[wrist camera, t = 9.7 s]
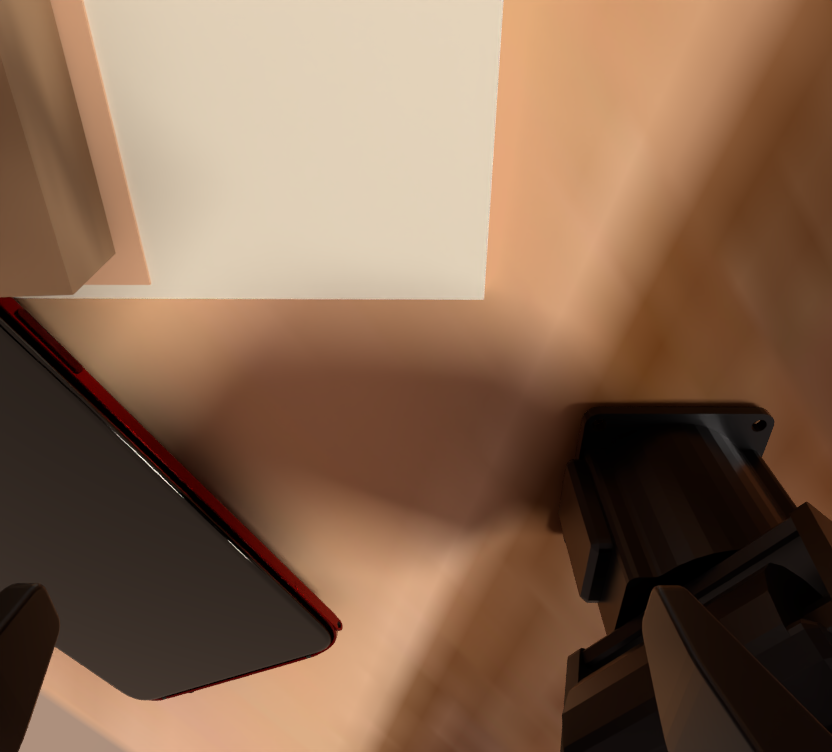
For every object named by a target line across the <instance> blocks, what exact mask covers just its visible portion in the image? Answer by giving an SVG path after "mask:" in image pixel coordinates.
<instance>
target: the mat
mask: <svg viewBox="0 0 832 752" xmlns="http://www.w3.org/2000/svg"><path fill="white" fill-rule="evenodd" d="M50 2H51V5H52V9H53V13H54V17H55V21H56V25H57V29H58V32H59V36H60V40H61V44H62V48H63V52H64V56H65V59H66V63H67V67H68V71H69V75H70V79H71V83H72V86H73V90H74V94H75V98H76V102H77V106H78V110H79V113H80V117H81V121H82V125H83V129H84V133H85V137H86V140H87V144H88V148H89V152H90V156H91V160H92V164H93V168H94V171H95V175H96V179H97V183H98V187H99V191H100V195H101V198H102V202H103V206H104V210H105V214H106V218H107V222H108V225H109V229H110V233H111V237H112V241H113V245H114V249H115V252H116V254H115V255H114V256H113V257H112V258H110V259H109V260H108V261H107V262H106V263H105V264H104V265H103V266H102V267H101V268H100V269H99V270H98V271H97V272H96V273H95V274H94V275H93V276H92V277H91V278H90V279H89V280H88V281H87V282H86V283H85V284H84V285H83V286H82V287H81V288H80V289H79V290H78V291H77V292H76V293H75V294H74V295H54V296H23V297H12V298H74V299H429V300H484V290H485V275H486V260H487V245H488V229H489V214H490V199H491V183H492V168H493V153H494V138H495V122H496V107H497V92H498V76H499V61H500V46H501V31H502V15H503V0H50Z"/></svg>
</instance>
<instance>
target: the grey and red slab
mask: <svg viewBox="0 0 832 752" xmlns="http://www.w3.org/2000/svg"><path fill="white" fill-rule="evenodd" d="M15 583H39V584H42V585H43V586H44V587H45V588H46V590H47V592H48V594H49V596H50V598H51V601H52V603H53V605H54V607H55V609H56V611H57V613H58V616H59V619H60V630H59V635H58V638H57V641H56V644H55V647H56V648H58V649H59V650H60V651H62V652H63V653H65V654H66V655H68V656H69V657H71V658H72V659H74V660H75V661H77V662H78V663H79V664H81V665H82V666H84V667H85V668H87V669H88V670H90V671H91V672H93V673H94V674H96V675H97V676H99V677H100V678H101V679H103V680H104V681H106V682H107V683H109V684H110V685H112V686H113V687H115V688H116V689H118V690H119V691H121V692H122V693H124V694H126V695H127V696H129V697H132V698H135V699H138V700H152V701H159V700H164V699H168V698H171V697H175V696H179V695H182V694H186V693H192V692H194V691H196V690H200V689H203V688H207V687H210V686H214V685H217V684H221V683H224V682H228V681H231V680H235V679H239V678H242V677H246V676H249V675H252V674H256V673H259V672H263V671H266V670H270V669H273V668H277V667H280V666H284V665H287V664H291V663H294V662H297V661H301V660H304V659H307V658H310V657H314V656H316V655H318V654H320V653H322V652H324V651H326V650H327V649H329V648H330V647H331V646H332V645H333V644H334V643H335V641H336V638H337V633H338V631H341V630H342V623H341V621H340V620H339V619H338V618H337V616H336V615H335V614H334V613H333V612H332V611H331V610H330V609H329V608H328V607H327V606H326V605H325V604H324V603H323V602H322V601H321V600H320V599H319V598H318V597H317V596H316V595H315V594H314V593H313V592H312V591H311V590H310V589H309V588H308V587H307V586H305V585H304V584H303V583H302V582H301V581H300V580H299V579H298V578H297V577H296V576H295V575H294V574H293V573H292V572H291V571H290V570H289V569H288V568H287V567H286V566H285V565H284V564H283V563H282V562H281V561H280V560H279V559H278V558H277V557H276V556H275V555H274V554H273V553H272V552H271V551H270V550H269V549H268V548H267V547H266V546H265V545H264V544H262V543H261V542H260V541H259V540H258V539H257V538H256V537H255V536H254V535H253V534H252V533H251V532H250V531H249V530H248V529H247V528H246V527H245V526H244V525H243V524H242V523H241V522H240V521H239V520H238V519H237V518H236V517H235V516H234V515H233V514H232V513H231V512H230V511H229V510H228V509H227V508H226V507H225V506H224V505H223V504H222V503H221V502H220V501H218V500H217V499H216V498H215V497H214V496H213V495H212V494H211V493H210V492H209V491H208V490H207V489H206V488H205V487H204V486H203V485H202V484H201V483H200V482H199V481H198V480H197V479H196V478H195V477H194V476H193V475H192V474H191V473H190V472H189V471H188V470H187V469H186V468H185V467H184V466H183V465H182V464H181V463H180V462H179V461H178V460H177V459H176V458H174V457H173V456H172V455H171V454H170V453H169V452H168V451H167V450H166V449H165V448H164V447H163V446H162V445H161V444H160V443H159V442H158V441H157V440H156V439H155V438H154V437H153V436H152V435H151V434H150V433H149V432H148V431H147V430H146V429H145V428H144V427H143V426H142V425H141V424H140V423H139V422H138V421H137V420H136V419H135V418H134V417H133V416H132V415H131V414H130V413H129V412H128V411H127V410H126V409H125V408H124V407H123V406H122V405H121V404H120V403H119V402H118V401H117V400H116V399H115V398H114V397H112V396H111V395H110V394H109V393H108V392H107V391H106V390H105V389H104V388H103V387H102V386H101V385H100V384H99V383H98V382H97V381H96V380H95V379H94V378H93V377H92V376H91V375H90V374H89V373H88V372H87V371H86V370H85V369H84V368H83V367H82V365H81V364H80V363H79V362H78V361H77V360H76V359H75V358H74V357H73V356H72V355H71V354H70V353H69V352H68V351H67V350H66V349H65V348H63V347H62V346H61V345H60V344H59V343H58V342H57V341H56V340H55V339H54V338H53V337H52V336H51V335H50V334H49V333H48V332H47V331H46V330H45V329H44V328H43V327H42V326H41V325H40V324H39V323H38V322H37V321H36V320H35V319H34V318H33V317H32V316H31V315H30V314H29V313H28V312H27V311H26V310H25V309H24V308H23V307H21V306H20V305H19V304H18V303H17V302H16V301H15V300H14V299H13V298H12V297H0V592H1V591H2V590H3V589H5V588H6V587H8V586H10V585H12V584H15Z"/></svg>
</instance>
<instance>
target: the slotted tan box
mask: <svg viewBox="0 0 832 752" xmlns="http://www.w3.org/2000/svg"><path fill="white" fill-rule="evenodd" d="M115 254H116V252H115V249H114V245H113V241H112V237H111V233H110V229H109V225H108V222H107V218H106V214H105V210H104V206H103V202H102V198H101V195H100V191H99V187H98V183H97V179H96V175H95V171H94V168H93V164H92V160H91V156H90V152H89V148H88V144H87V140H86V137H85V133H84V129H83V125H82V121H81V117H80V113H79V110H78V106H77V102H76V98H75V94H74V90H73V86H72V83H71V79H70V75H69V71H68V67H67V63H66V59H65V56H64V52H63V48H62V44H61V40H60V36H59V32H58V29H57V25H56V21H55V17H54V13H53V9H52V5H51V2H50V0H0V297H23V296H54V295H74V294H75V293H76V292H77V291H78V290H79V289H80V288H81V287H82V286H83V285H84V284H85V283H86V282H87V281H88V280H89V279H90V278H91V277H92V276H93V275H94V274H95V273H96V272H97V271H98V270H99V269H100V268H101V267H102V266H103V265H104V264H105V263H106V262H107V261H108V260H109V259H110V258H112V257H113V256H114V255H115Z"/></svg>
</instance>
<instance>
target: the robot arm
mask: <svg viewBox="0 0 832 752" xmlns="http://www.w3.org/2000/svg"><path fill="white" fill-rule="evenodd" d="M599 419H602V420H603V421H602V422H601V423H599V424H593V422H594V421H596V420H599ZM757 420H760V422H758V423H757V424H754V425H752V424H753V423H754V422H756V421H757ZM773 426H774V420H773V417H772V416H771V415H770V414H769V412H768V411H767V410H765V409H764V408H760V407H594V408H591V409H589V410H588V411H587V412H585V413H584V415H583V418H582V422H581V428H580V434H579V439H578V445H577V451H576V456H575V459H572V460H570V462H569V463H568V464H567V465H566V469H565V475H564V481H563V487H562V492H561V498H560V504H559V510H558V515H559V519H560V522H561V526H562V532H563V537H564V541H565V543H566V546H567V549H568V553H569V557H570V561H571V565H572V569H573V573H574V576H575V580H576V584H577V588H578V592H579V595H580V597H581V598H582V599H583V600H584V601H585V602H587V603H598V606H599V610H600V613H601V617H602V620H603V624H604V627H605V631H606V634H607V636H605V637H604V638H602V639H600V640H599V641H597V642H596V643H594V644H593V645H591V646H590V647H588V648H587V649H584V648H581V649H579V650H577V651H576V652H574V653H573V654H571V655H570V656H568V660H567V673H566V686H565V699H564V710H563V713H562V737H561V750H560V752H832V521H831V520H829V519H828V518H827V517H826V516H824V515H823V514H822V513H821V512H820V511H818V510H817V509H816V508H815V507H813V506H812V505H811V504H810V503H808V502H805V503H804V504H802V505H800V506H799V507H796V505H795V504H794V502H793V501H792V500H791V498H790V497H789V495H788V494H787V492H786V491H785V490H784V488H783V487H782V485H781V484H780V483H779V481H778V480H777V478H776V477H775V475H774V474H773V473H772V471H771V470H770V468H769V467H768V466H767V464H766V463H765V461H764V460H763V458H762V455H763V453H764V450H765V447H766V445H767V442H768V440H769V437H770V434H771V432H772V429H773ZM59 630H60V619H59V616H58V613H57V611H56V609H55V607H54V605H53V603H52V601H51V598H50V596H49V594H48V592H47V590H46V588H45V587H44V586H43V585H42V584H39V583H15V584H12V585H10V586H8V587H6V588H5V589H3V590H2V591H1V592H0V752H18V751H19V749H20V746H21V744H22V741H23V739H24V736H25V733H26V731H27V728H28V725H29V722H30V720H31V717H32V714H33V710H34V707H35V704H36V701H37V698H38V695H39V692H40V689H41V686H42V683H43V680H44V677H45V674H46V671H47V668H48V665H49V662H50V659H51V656H52V653H53V650H54V647H55V644H56V641H57V638H58V635H59Z"/></svg>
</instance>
